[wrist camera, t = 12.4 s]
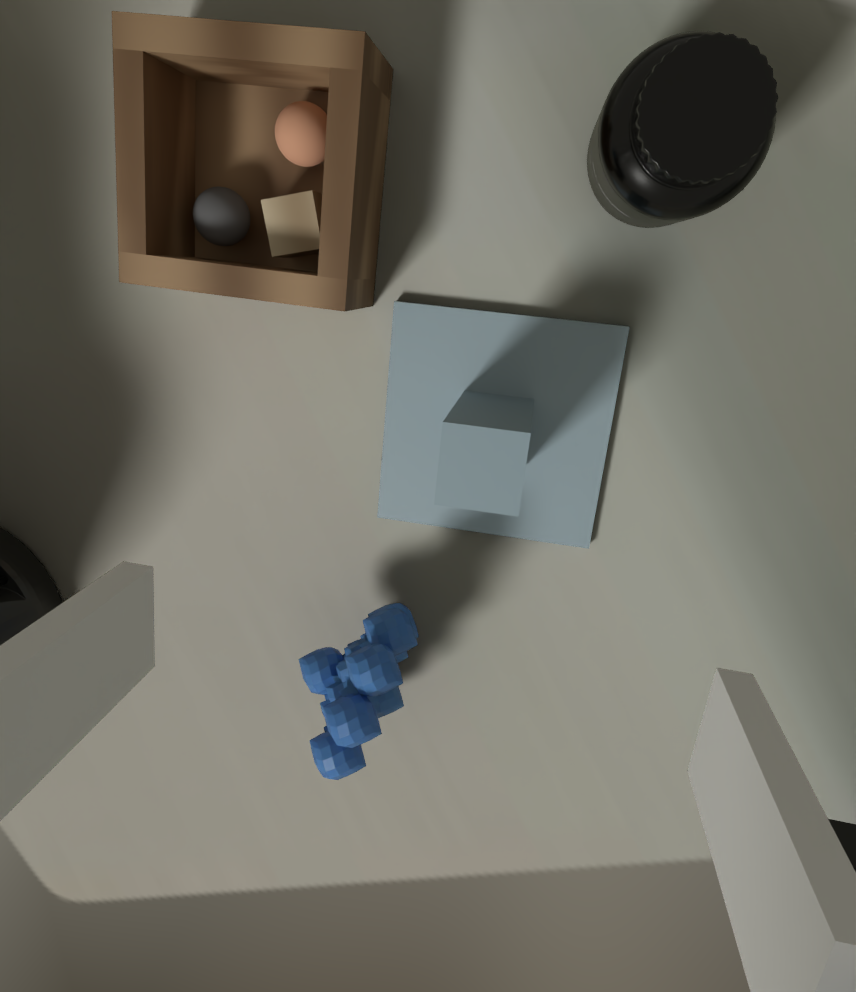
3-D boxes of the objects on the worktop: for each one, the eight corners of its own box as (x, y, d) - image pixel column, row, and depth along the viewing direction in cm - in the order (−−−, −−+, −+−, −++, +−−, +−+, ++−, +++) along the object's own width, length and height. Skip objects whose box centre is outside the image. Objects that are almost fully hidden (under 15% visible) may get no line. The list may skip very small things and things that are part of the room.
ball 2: (285, 167, 38) (264, 159, 35) (288, 105, 37) (266, 91, 34) (338, 173, 38) (322, 165, 35) (343, 111, 37) (326, 97, 34)
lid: (381, 512, 44) (336, 576, 35) (397, 300, 40) (352, 309, 31) (587, 542, 43) (599, 618, 33) (627, 325, 39) (653, 342, 29)
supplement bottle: (566, 207, 37) (575, 178, 26) (616, 65, 35) (649, -35, 24) (691, 247, 37) (755, 236, 25) (749, 107, 34) (848, 26, 23)
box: (177, 280, 42) (119, 282, 36) (176, 50, 38) (112, 11, 32) (373, 305, 40) (344, 311, 35) (393, 69, 36) (365, 31, 31)
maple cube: (290, 257, 39) (272, 256, 37) (280, 204, 39) (260, 199, 36) (337, 249, 39) (322, 248, 36) (328, 195, 38) (312, 190, 35)
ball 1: (208, 243, 40) (182, 241, 37) (208, 187, 39) (182, 180, 36) (258, 250, 40) (236, 248, 37) (259, 192, 39) (237, 186, 36)
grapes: (357, 538, 45) (293, 628, 34) (454, 581, 45) (422, 685, 33) (302, 680, 49) (228, 802, 37) (390, 719, 49) (343, 854, 37)
